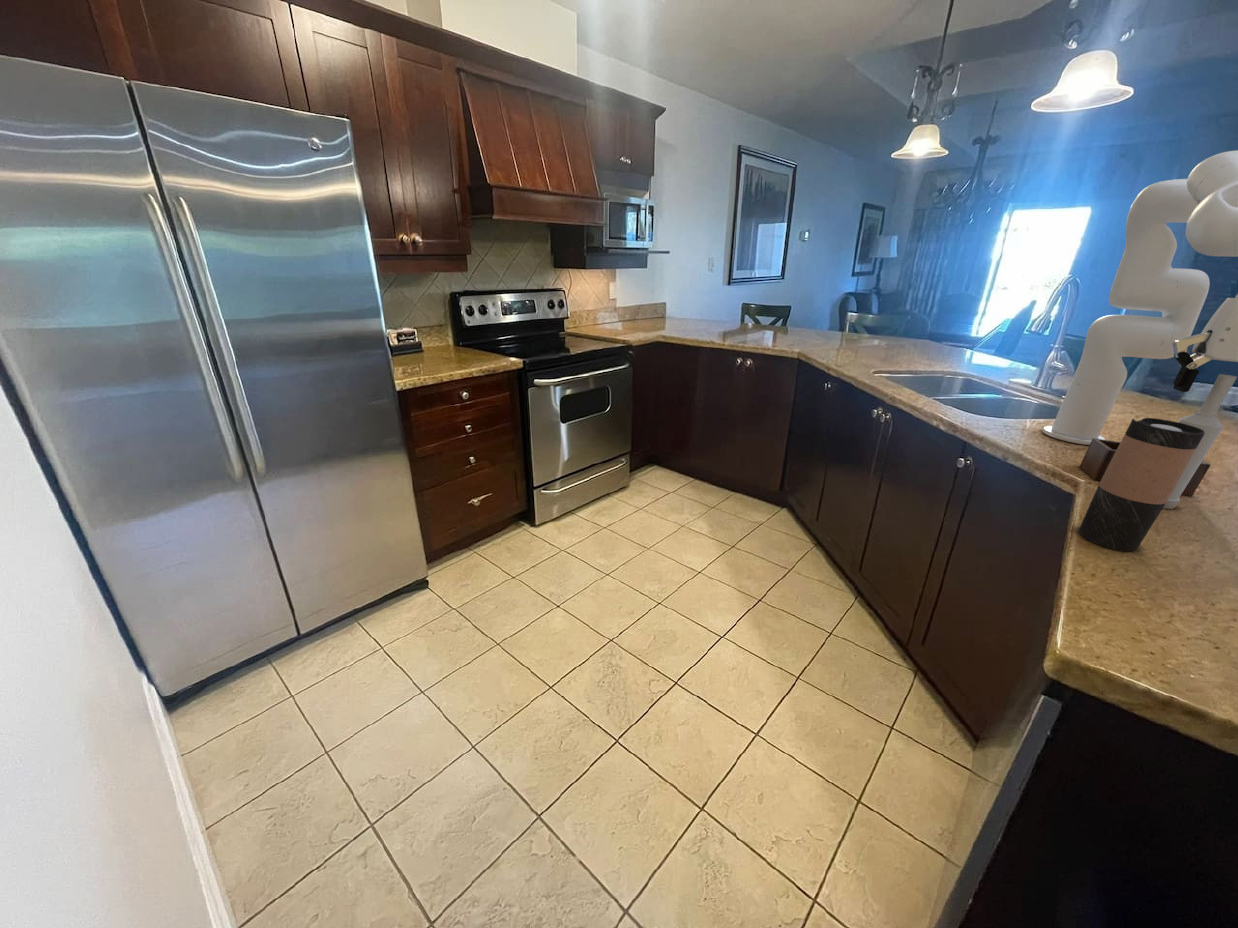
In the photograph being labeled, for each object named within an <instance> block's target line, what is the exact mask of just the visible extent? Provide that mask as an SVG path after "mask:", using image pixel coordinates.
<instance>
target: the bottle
mask: <svg viewBox="0 0 1238 928" xmlns="http://www.w3.org/2000/svg"><path fill="white" fill-rule="evenodd" d="M1237 378H1238V376H1236V375H1230V374H1218V376H1217V377H1216V379H1215V381H1214V382H1213V386H1212V387H1211V389H1210V391H1209V393H1208V395H1207V396H1206V398H1205V400H1204V402H1203V404H1202V405H1201V406H1200V409H1199V410H1197V411H1195V412H1194V413H1193V414H1190V415H1187V416H1183V417H1181V418H1180V419H1179V421H1178V423H1183V424H1187V425H1190V426H1194V427H1197V428H1199V429H1202V430H1203V431H1204V432H1205V433H1204V436H1203V438H1202V439H1201V441H1200V443H1199V445H1198V447H1197V448H1196V450H1195V452H1194V454H1193V456H1192V457H1191V459H1190V461H1189V463H1188V465H1187V466H1186V468H1185V470H1184V472H1183V474H1182V475H1181V477H1180V479H1179V481H1178V483H1177V484H1176V486H1175V488H1174V490H1173V492H1172V493H1171V495H1170V497H1169V499H1168V501H1167V502H1166V504H1165V506H1164V507H1163V509H1165V510H1173V509H1175V508H1176V507H1177V506H1178V504H1180V502H1181V499H1180V497H1181V496H1182V495H1181V494H1182V492H1183V491H1184V489H1185V488H1186V486H1187V484H1188V483H1189V481H1190V480H1191V478H1192V476H1193V475H1194V473H1195V472H1196V470H1197V468H1198V467H1199V465H1200V464H1201V462H1202V460H1203V461H1204V459H1205V457H1206V456H1207V455H1208V452H1209V451H1210V449H1211V448H1212V446H1213V445H1214V443H1215V441H1216V440H1217V438H1218V436H1219V435H1220V433H1221V431H1222V430H1223V428H1224V425H1223V424H1222V422H1221V421H1220V420H1219V419H1218V417H1219V415H1218V414H1217V412H1218V411H1219V410H1220V407H1221V405H1222V404H1223V402H1224V401H1225V399H1226V397H1227V395H1228V393H1229V392H1230V390H1231V389H1232V387H1233V385H1234V384H1235V381H1236V380H1237Z"/></svg>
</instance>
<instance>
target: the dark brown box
mask: <svg viewBox="0 0 1238 928" xmlns="http://www.w3.org/2000/svg"><path fill="white" fill-rule="evenodd" d="M1120 443H1121V441H1116V440H1109V439H1105V440H1102V439H1095V438H1093V439H1092V441H1091V443H1090V445H1088V447H1087V449H1086V451H1085V454H1084V456H1083V457H1082V460H1081V462H1080V464H1079V466H1078V467H1079V468H1080V469H1081V470H1082V471H1083V472H1084V473H1086V474H1087V475H1088V477H1090V478H1091V479H1092V480H1093V481H1098V482H1100V481H1101V479H1102V478H1103V476H1104V474H1105V472H1106V470H1107V468H1108V466H1109V464H1110V462H1111V460H1112V458H1113V456H1114V454H1115V452H1116V450H1117V448H1118V447H1119V445H1120ZM1210 467H1211V463H1209V462H1206V461H1205V460H1204V459H1203V460H1202V462H1201V464H1200V465H1199V467H1198V468H1197V470H1196V472H1195V473H1194V475H1193V476H1192V478H1191V480H1190V481H1189V483H1188V484H1187V486H1186V488H1185V489H1184V491H1183V492H1182V494H1181V496H1188V497H1193V496H1194V494H1195V492H1196V491H1197V489H1198V487H1199V485H1200V484H1201V483H1202V480H1203V479H1204V477H1205V475H1206V474H1207V472H1208V471H1209V469H1210Z"/></svg>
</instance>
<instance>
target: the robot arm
mask: <svg viewBox="0 0 1238 928" xmlns="http://www.w3.org/2000/svg"><path fill="white" fill-rule="evenodd" d="M1125 221H1126V222H1125V246H1124V250H1123V254H1122V256H1121V259H1120V262H1119V265H1118V268H1117V271H1116V273H1115V276H1114V279H1113V282H1112V285H1111V287H1110V291H1109V295H1108V303H1109V304H1110V306H1111V307H1113V308H1117V309H1122V310H1133V311H1134V310H1135V311H1145V312H1146V311H1147V312H1160V313H1161V317H1159V316H1147V315H1135V314H1133V315H1132V314H1109V315H1105V316H1102V317H1099V318H1097V319H1096V320H1095V321H1093V322H1092V323H1091V325H1090V326H1089V328H1088V330H1087V333H1086V336H1085V341H1084V344H1083V345H1084V346H1083V349H1082V354H1081V356H1080V360H1079V363H1078V365H1077V367H1076V370H1075V372H1074V375H1073V376H1072V379H1071V382H1070V384H1069V386H1068V389H1067V392H1065V393H1066V394H1065V396H1064V398H1063V400H1062V403H1061V405H1060V407H1059V409H1058V412H1057V414H1056V416H1055V419H1054V422H1053V424H1052V425H1046V426H1044V427H1043V428H1042V433H1043V434H1044V435H1046V436H1048V437H1051V438H1053V439H1056V440H1060V441H1064V442H1068V443H1072V444H1077V445H1085V446H1089V445H1090V443H1091V441H1092V439H1093V438H1095V439H1102V440H1106V438H1105V437H1104V436H1102V435H1101V434H1102V433H1101V432H1102V430H1103V428H1104V427H1105V424H1106V422H1107V420H1108V418H1109V416H1110V414H1111V413H1112V410H1113V408H1114V407H1115V404H1116V401H1117V400H1118V397H1119V395H1120V393H1121V391H1122V389H1123V387H1124V385H1125V383H1126V381H1127V378H1128V370H1127V367H1126V365H1125V363H1124V361H1123V357H1125V358H1127V357H1128V358H1129V357H1130V358H1141V359H1153V360H1168V359H1171V358H1174V359H1175V360H1176V361H1177V362H1178V365H1179V367H1180V369H1179V371H1178V373H1177V374H1176V376H1175V378H1174V380H1173V383H1172V384H1173V387H1172V388H1173V390H1176V391H1179V392H1181V393H1187V392H1189V391H1190V390H1191V388H1192V386H1193V384H1194V382H1195V380H1196V378H1197V377H1198V375H1199V373H1200V370H1199V369H1198V368H1199V367H1200V366H1202V365H1205V364H1206V363H1208V362H1210V361H1212V360H1214V361H1221V362H1223V361H1224V362H1232V363H1233V362H1234V363H1238V292H1237V293H1236V295H1235V297H1227V298H1226V299H1225V300H1224V301H1223V302H1222V304H1221V305H1220V306H1219V307H1218V308H1217V309H1216V311H1215V312H1214V314H1213V315H1212V316H1211V317H1210V319H1209V320H1208V322H1207V323H1206V325H1205V326H1204V328H1203V329H1202V331H1201V333H1197V334H1193V333H1194V329H1195V327H1196V324H1197V321H1198V319H1199V317H1200V314H1201V311H1202V309H1203V306H1204V304H1205V302H1206V300H1207V297H1208V293H1209V292H1210V291H1209V290H1210V283H1211V282H1210V277H1209V275H1208V274H1207V273H1206V272H1205V271H1204V270H1200V269H1195V268H1175V267H1174V268H1173V266H1172V262H1173V259H1174V257H1175V255H1176V252H1177V249H1178V242H1177V239H1176V237H1175V234H1174V233H1173V231H1172V230H1171V228H1170V227H1169V226H1168V225H1167V224H1170V223H1172V224H1173V223H1175V224H1176V223H1177V224H1178V223H1180V224H1186V225H1185V232H1184V233H1185V239H1186V240H1187V241H1188V242H1187V243H1188V244H1189V245H1190V246H1191V248H1192V249H1193V250H1194V251H1195V252H1196V253H1198V254H1200V255H1204V256H1208V257H1235V258H1238V150H1237V149H1236V150H1228V151H1223V152H1220V153H1217V154H1214V155H1211V156H1209V157H1208V158H1205V159H1204V160H1202V161H1201V162H1199V163H1197V165H1196V166H1195V167H1194V168H1193V169H1192V170H1191V171H1190V173H1189V175H1188V176H1187V178H1177V179H1175V178H1174V179H1168V180H1167V179H1166V180H1162V181H1157V182H1155V183H1152V184H1150V185H1147V186H1146V187H1144V188H1143V189H1142V190H1141V191H1140V192H1139V193H1138V194H1137V196H1136V197H1135V198H1134V200H1133V202H1132V204H1131V206H1130V208H1129V210H1128V214H1127V216H1126V220H1125ZM1192 334H1193V335H1192ZM1189 346H1192V349H1191V352H1192V354H1189V353H1188V348H1189Z"/></svg>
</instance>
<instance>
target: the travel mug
mask: <svg viewBox="0 0 1238 928" xmlns="http://www.w3.org/2000/svg"><path fill="white" fill-rule="evenodd" d="M1204 433H1205V432H1204V431H1203V430H1202V429H1199V428H1197V427H1194V426H1190V425H1187V424H1183V423H1179V421H1173V420H1167V419H1161V418H1155V417H1144V418H1142V419H1141V420H1136V419H1135V418H1132V419H1131V421H1130V424H1129V425H1128V427H1127V429H1126V431H1125V433H1124V435H1123V437H1122V439H1121V441H1120V442H1121V443H1120V445H1119V447H1118V448H1117V450H1116V452H1115V454H1114V456H1113V458H1112V460H1111V462H1110V464H1109V466H1108V468H1107V470H1106V472H1105V474H1104V476H1103V478H1102V479H1101V481H1099V484H1098V486H1097V488H1096V490H1095V492H1094V495H1093V497H1092V499H1091V501H1090V504H1089V505H1088V507H1087V510H1086V512H1085V515H1084V516H1083V519H1082V521H1081V523H1080V526H1079V528H1078V533H1079V535H1080V536H1081V537H1083V538H1084V539H1086V540H1088V541H1090V542H1091V543H1093V544H1095V545H1098V546H1101V547H1105V548H1108V549H1110V550H1115V551H1121V552H1135V551H1136V550H1137V549H1138V548H1139V547H1140V545H1141V544H1142V542H1143V541H1144V539H1145V538H1146V536H1147V535H1148V532H1150V530H1151V529H1152V527H1153V525H1154V523H1155V522H1156V520H1157V518H1158V517H1159V515H1160V514H1161V512H1162V511H1163V509H1164V508H1163V507H1164V506H1165V504H1166V502H1167V501H1168V499H1169V497H1170V495H1171V493H1172V492H1173V490H1174V488H1175V486H1176V484H1177V483H1178V481H1179V479H1180V477H1181V475H1182V474H1183V472H1184V470H1185V468H1186V466H1187V465H1188V463H1189V461H1190V459H1191V457H1192V456H1193V454H1194V452H1195V450H1196V448H1197V447H1198V445H1199V443H1200V441H1201V439H1202V438H1203V436H1204Z"/></svg>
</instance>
